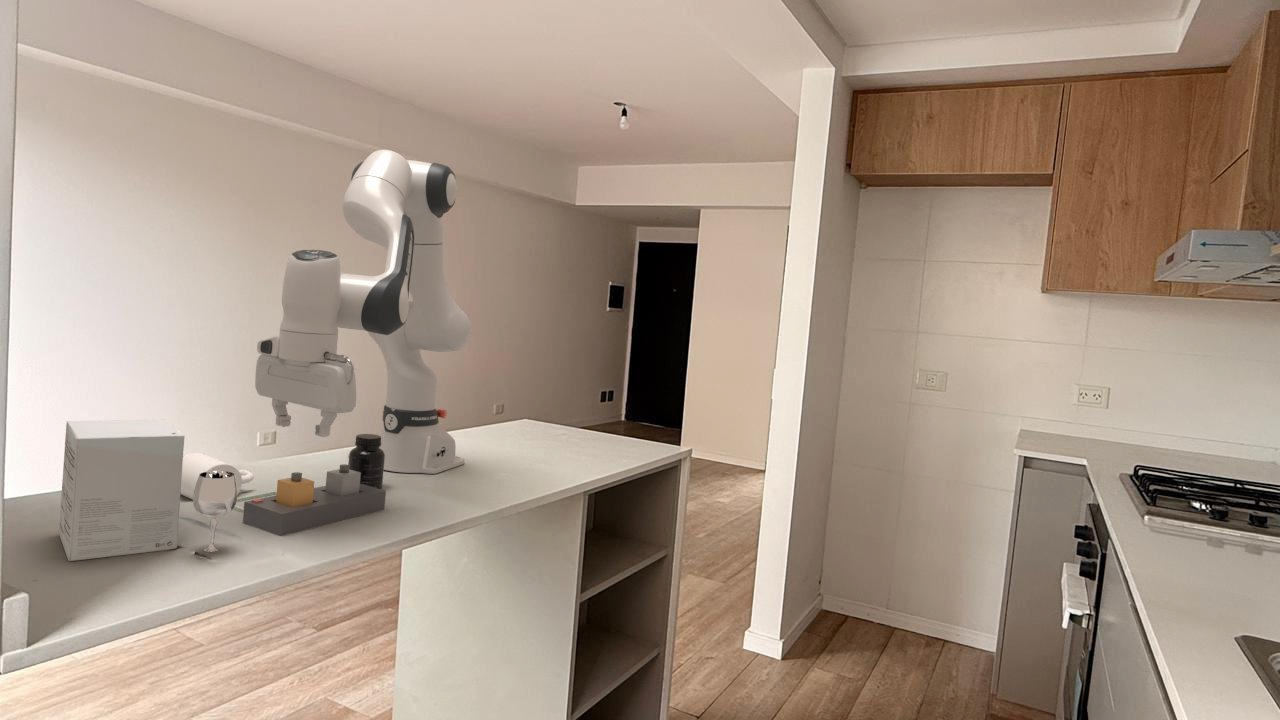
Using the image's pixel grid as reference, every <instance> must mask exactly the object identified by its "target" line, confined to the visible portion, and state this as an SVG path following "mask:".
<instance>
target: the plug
mask: <svg viewBox="0 0 1280 720" xmlns="http://www.w3.org/2000/svg"><path fill="white" fill-rule="evenodd" d="M276 483H277V484H276V491H277V494H276V495H275V496H276V502H277V503H280V504H283V505H286V506H289V507H297V506H301V505H306V504H310V503H313V493H314V488H315V480H312V479H308V478H305V477H303V473H302V472H297V471H296V472H292V473H291V476H290V477H287V478H282V479H277V481H276Z"/></svg>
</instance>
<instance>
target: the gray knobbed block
mask: <svg viewBox="0 0 1280 720" xmlns="http://www.w3.org/2000/svg"><path fill="white" fill-rule="evenodd" d="M360 477H361V472H357V471H353V470H350V469H349V465H348V464H346V463H343V464H340V465H339V469H333V470H328V471H326V480H325V486H326V490H325V492H327V493H330V494H334V495H337V496H340V497H342V496H347V495H352V494H356V493H359V488H360Z"/></svg>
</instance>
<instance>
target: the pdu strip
mask: <svg viewBox="0 0 1280 720" xmlns="http://www.w3.org/2000/svg"><path fill="white" fill-rule="evenodd" d="M325 490H326V485H324V486H323V485H322V486H317V487H314V493H313V503H310V504H306V505H301V506H297V507H289V506H286V505H283V504H280V503H277V502H276V495H271V496H266V497H260V498H255V499H250V500H245V501H243V502H244V504H243V508H244V513H243V515H242V516H243V517H242V524H244V525H248V526H250V527H253V528H256V529H259V530H262V531H265V532H268V533H269V534H273V535H276V536H280V537H282V536H286V535H290V534H294V533H298V532H300V531H301V532H302V531H305V530H309V529H310V530H311V529H314V528H319V527H322V526H325V525H330V524H333V523H337V522H342V521H345V520H348V519H349V520H350V519H353V518H356V517H361V516H366V515H369V514H372V513H373V514H374V513H376V512H380V511H384V510H385V506H386V505H385V504H386V496H387V495H386V493H387V490H385V489H378V488H374V487H371V486H367V485H364V484H360V488H359V493H356V494H352V495H347V496H342V497H340V496H337V495H334V494H330V493H327V492H325Z"/></svg>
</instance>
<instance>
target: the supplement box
mask: <svg viewBox="0 0 1280 720" xmlns="http://www.w3.org/2000/svg"><path fill="white" fill-rule="evenodd" d="M185 438H186V437H185V435H184V434H183V433H182V432H181V431H179V429H177V428H176V427H175V426H174V425H173V424H171V423H170V422H169V421H168V420H166V419H165V418H164V419H163V418H161V419H127V420H126V419H123V420H122V419H120V420H119V419H117V420H116V419H115V420H66V424H65V440H64V441H65V442H64V455H63V468H62V469H63V470H62V480H61V481H62V485H61V495H60V496H61V499H60V512H59V529H58V530H59V531H58V532H59V533H58V535H59V538H60V541H61V544H62V547H63V550H64V552H65V554H66V557H67V560H68V562H74V561H82V560H84V561H85V560H91V559H92V560H93V559H101V558H109V557H117V556H126V555H133V554H142V553H152V552H160V551H161V552H162V551H167V550H168V551H169V550H174V549H177V548H178V538H179V526H180V525H179V522H180V521H179V520H180V507H181V479H182V463H183V456H184V448H185V447H184V446H185Z"/></svg>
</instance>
